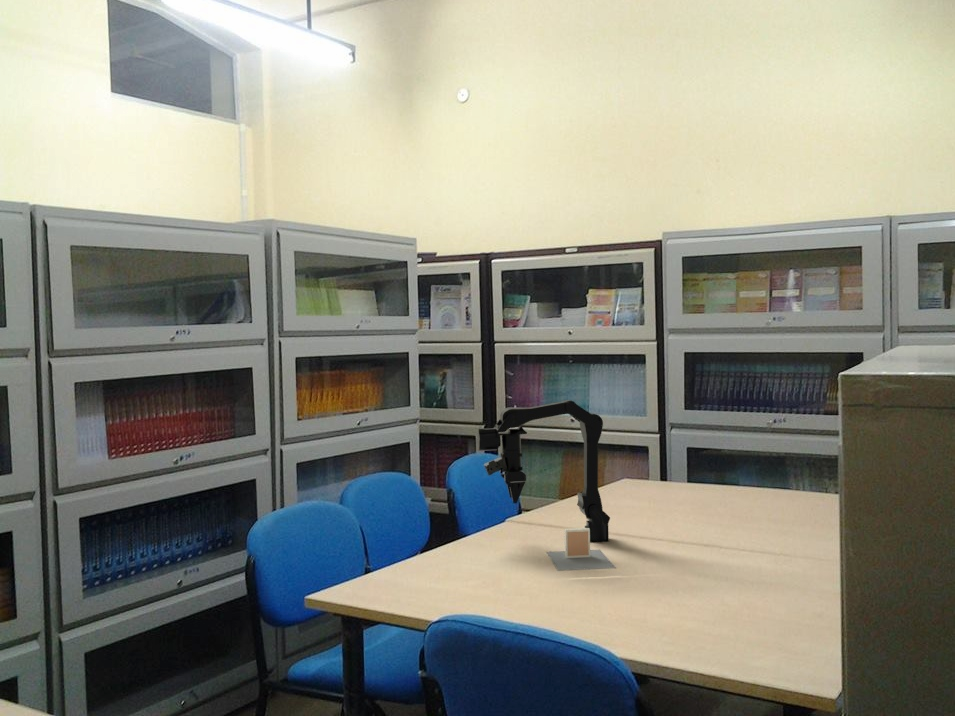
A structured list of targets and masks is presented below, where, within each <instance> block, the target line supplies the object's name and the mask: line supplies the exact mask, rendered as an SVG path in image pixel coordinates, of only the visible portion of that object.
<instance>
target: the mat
mask: <svg viewBox="0 0 955 716" xmlns="http://www.w3.org/2000/svg"><path fill="white" fill-rule="evenodd" d="M545 552H546V554H547V556H548V557H549V559H550V561H551V562H552V564H553V565H554V567H555V569H556V570H557V572H561V571H580V570H581V571H582V570H583V571H584V570H586V571H587V570H605V569H617V567H616V566H615V565H614V564H613V563H612V562H611V560H610V559H609V558H608V557H607V556H606V555H605V554H604V553H603V551H602V550H601V549H590V557H578V558H566V557H565V550H557V551H556V550H555V551H545Z"/></svg>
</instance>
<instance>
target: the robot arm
mask: <svg viewBox="0 0 955 716" xmlns="http://www.w3.org/2000/svg"><path fill="white" fill-rule="evenodd" d="M567 414H568V415H569V416H570V417H572V418H573V419H574V420H576V421H577V422H579V427H580V433H581V437H582V439H583V487H582V488H583V489H582V491H581V492H577V504H576V506H578V508H579V511H580V512H581V513H582V514H583V515H584V517H585V518H586V522H585V523H586V525H584V528H589V529H590V544H591V543H609V542H611V541H610V540H609V523H610V520H611V517H610V515H608V514H607V513H606V512H605V511H604V510H603V502H602V498H601V494H600V491H599V442H600V439H601V436H602V431H603V427H604V421H603V418H602V417H601V416H600V415H599V414H597V413H593V412H590V411H587V410H586V409H585V408H583V407H581V406H579V405H578V404H577V402H575V401H573V400H571V399H565V400H562V401H558V402H553V403H546V404H541V405H536V406H530V407H517V406H516V407H505V408H504V409H502V411H500V414H499V419H498V421H497V422H496V424H495V425H494V427H493V428H480V427H479V428H477V438H476V447H477V452H485V451H497V450H498V448H500V447H501V452H500V457H497V458H494V459H492V460H489V461H487V462H485V463H483V466H484V468H485V471H486V473H487V475H488V476H492V475H493V474H494V473H495V474H496V473H497V472H499V475H500V477H502V478H503V479H504V483H505V484H506V486H507V490H508V491H507V493H508V495H509V497H510V498H511V499H512V504H517V503H518V501H519V499H520V496H521V493H522V491H523V489H524V485H525V484H526V482H527V474H526V473H525V471H524V470H523V465H522V458H523V453H522V443H521V441H522V440H521V435H527V433H528V432H527V431H526V430H525V429H524V428H523V426H524V425H525V424H527V423H529V422H531V421H535V420H540V419H545V418H550V417H551V418H552V417H555V416H556V417H557V416H562V415H567Z"/></svg>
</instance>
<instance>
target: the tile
mask: <svg viewBox="0 0 955 716" xmlns="http://www.w3.org/2000/svg"><path fill="white" fill-rule="evenodd" d="M590 550H591V543H590V529H589V528H585V527H584V528H583V527H582V528H581V527H580V528H579V527H577V528H564V551H565V557H566V558H578V557H590Z"/></svg>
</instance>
